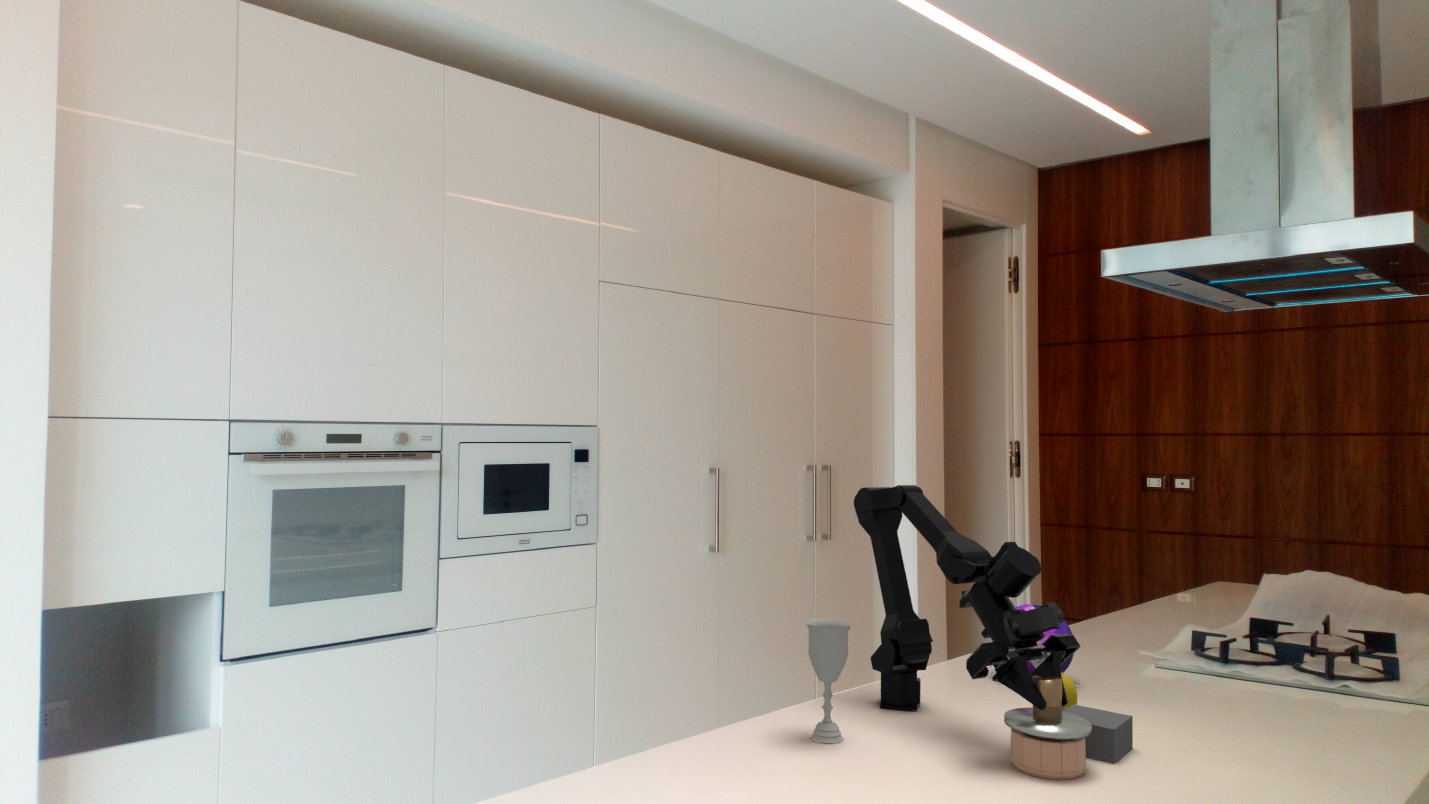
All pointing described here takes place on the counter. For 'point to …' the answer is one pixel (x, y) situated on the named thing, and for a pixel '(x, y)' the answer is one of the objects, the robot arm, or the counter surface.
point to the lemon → (1069, 691)
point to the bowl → (1048, 756)
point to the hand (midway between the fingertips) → (1054, 706)
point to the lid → (1048, 714)
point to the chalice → (828, 667)
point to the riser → (1106, 733)
